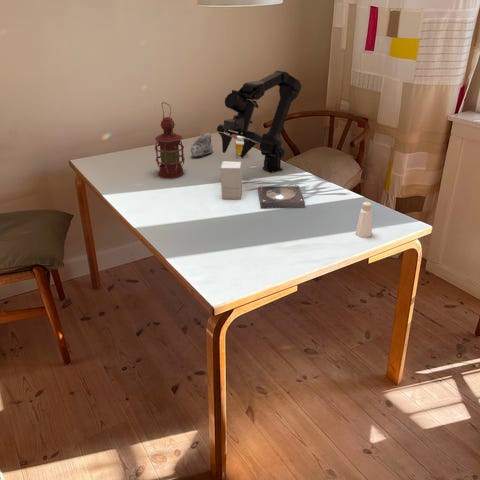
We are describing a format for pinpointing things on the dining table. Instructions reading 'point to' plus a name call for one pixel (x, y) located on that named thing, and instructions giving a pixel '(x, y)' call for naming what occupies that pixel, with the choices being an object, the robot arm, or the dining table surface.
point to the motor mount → (281, 197)
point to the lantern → (169, 150)
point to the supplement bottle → (239, 146)
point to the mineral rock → (202, 145)
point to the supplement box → (231, 180)
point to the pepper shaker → (365, 221)
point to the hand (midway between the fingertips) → (232, 155)
